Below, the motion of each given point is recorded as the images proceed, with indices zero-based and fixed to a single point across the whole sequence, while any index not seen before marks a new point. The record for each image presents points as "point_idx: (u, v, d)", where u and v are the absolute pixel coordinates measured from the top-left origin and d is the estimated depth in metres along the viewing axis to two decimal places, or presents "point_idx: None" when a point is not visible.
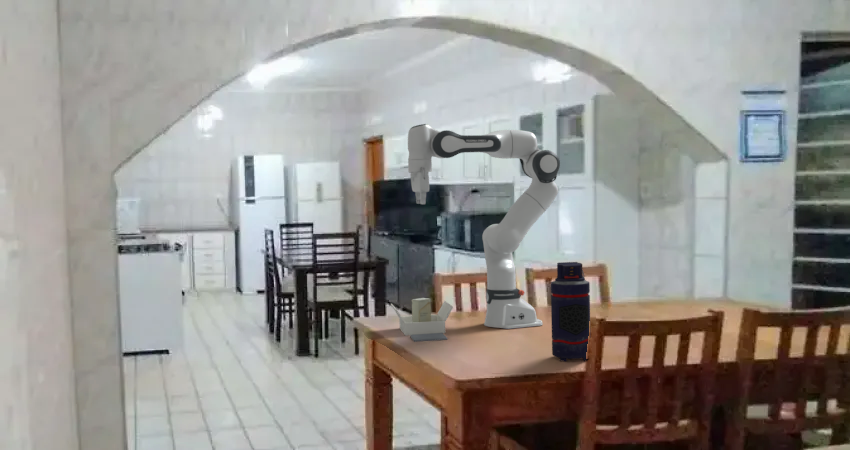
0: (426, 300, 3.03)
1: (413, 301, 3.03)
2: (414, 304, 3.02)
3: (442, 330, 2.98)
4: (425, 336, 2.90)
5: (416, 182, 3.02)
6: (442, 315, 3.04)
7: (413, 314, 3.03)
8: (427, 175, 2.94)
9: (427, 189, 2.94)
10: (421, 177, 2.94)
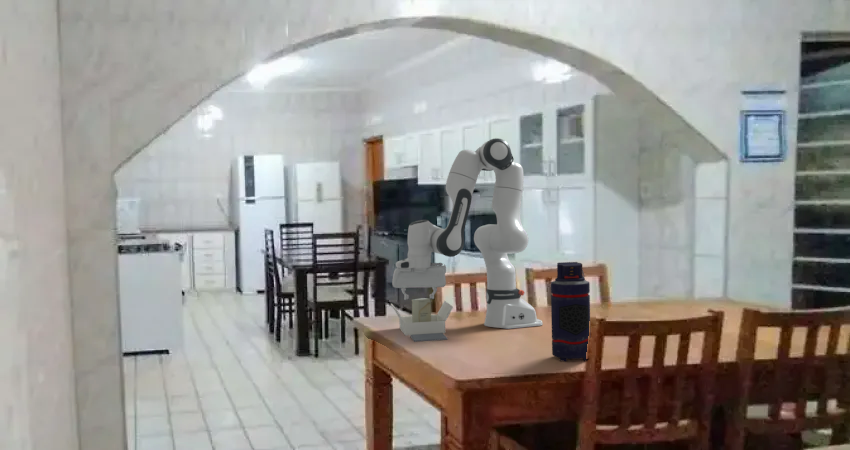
0: (426, 300, 3.03)
1: (413, 301, 3.03)
2: (414, 304, 3.02)
3: (442, 330, 2.98)
4: (425, 336, 2.90)
5: (424, 278, 3.02)
6: (442, 315, 3.04)
7: (413, 314, 3.03)
8: None
9: None
10: (444, 272, 3.03)
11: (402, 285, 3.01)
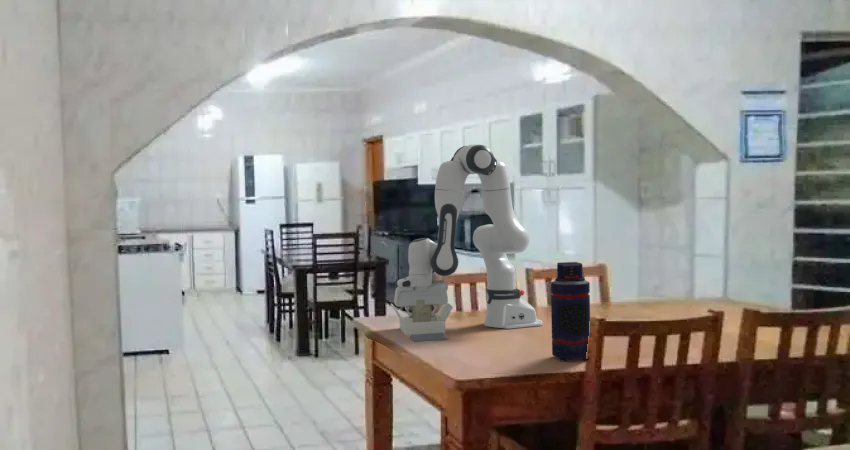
0: None
1: None
2: None
3: (442, 330, 2.98)
4: (425, 336, 2.90)
5: (426, 296, 3.02)
6: (442, 315, 3.04)
7: (413, 314, 3.03)
8: None
9: None
10: (446, 289, 3.04)
11: (404, 304, 3.01)
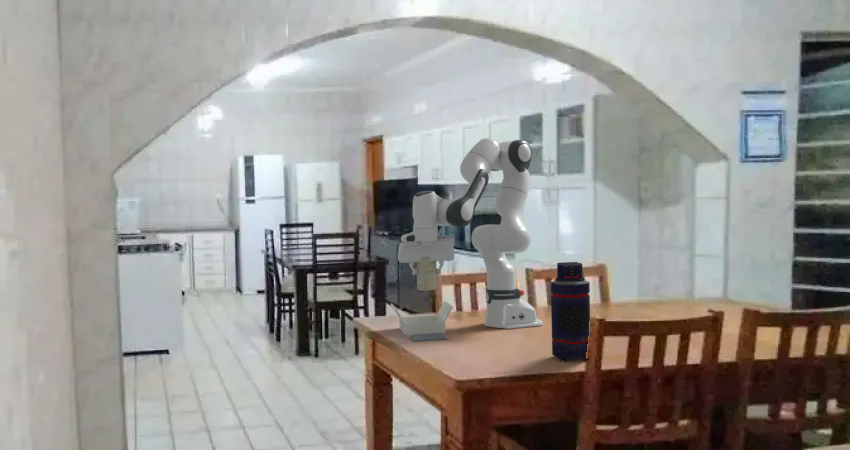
0: None
1: None
2: None
3: (442, 330, 2.98)
4: (425, 336, 2.90)
5: (431, 251, 2.87)
6: (442, 315, 3.04)
7: (418, 272, 2.87)
8: None
9: None
10: (452, 245, 2.88)
11: (408, 260, 2.85)
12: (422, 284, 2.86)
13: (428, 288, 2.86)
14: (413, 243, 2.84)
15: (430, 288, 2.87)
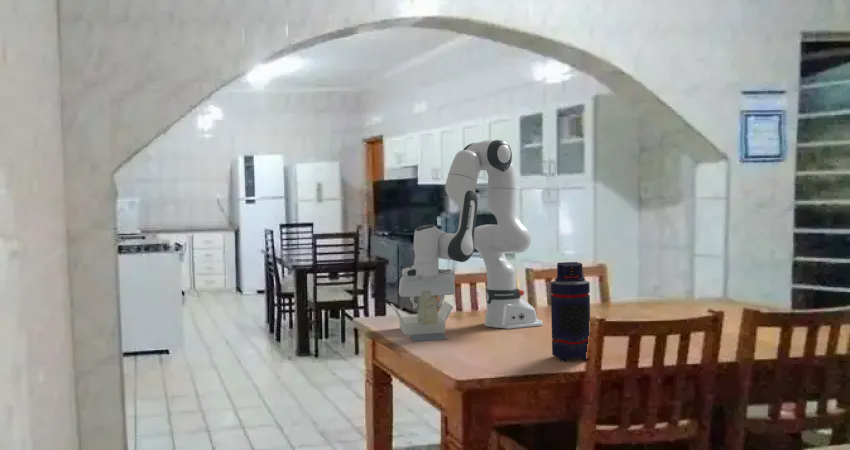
0: None
1: None
2: (419, 296, 2.87)
3: (442, 330, 2.98)
4: (425, 336, 2.90)
5: (432, 285, 2.87)
6: (442, 315, 3.04)
7: (418, 306, 2.88)
8: None
9: None
10: (453, 279, 2.89)
11: (409, 294, 2.86)
12: (422, 319, 2.86)
13: (429, 322, 2.87)
14: (414, 277, 2.85)
15: (431, 322, 2.87)
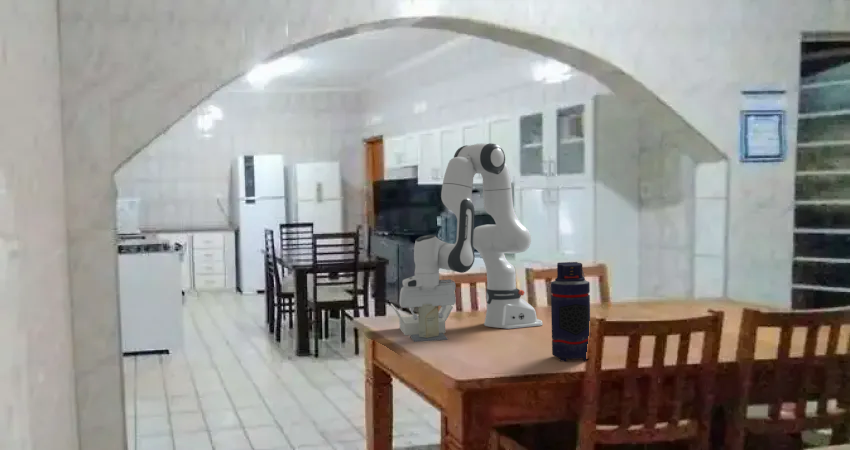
0: None
1: None
2: (421, 308, 2.88)
3: (442, 330, 2.98)
4: None
5: (432, 296, 2.87)
6: None
7: (420, 319, 2.88)
8: None
9: None
10: (453, 289, 2.89)
11: (410, 304, 2.86)
12: (423, 331, 2.87)
13: (430, 335, 2.87)
14: (414, 288, 2.85)
15: (432, 335, 2.88)
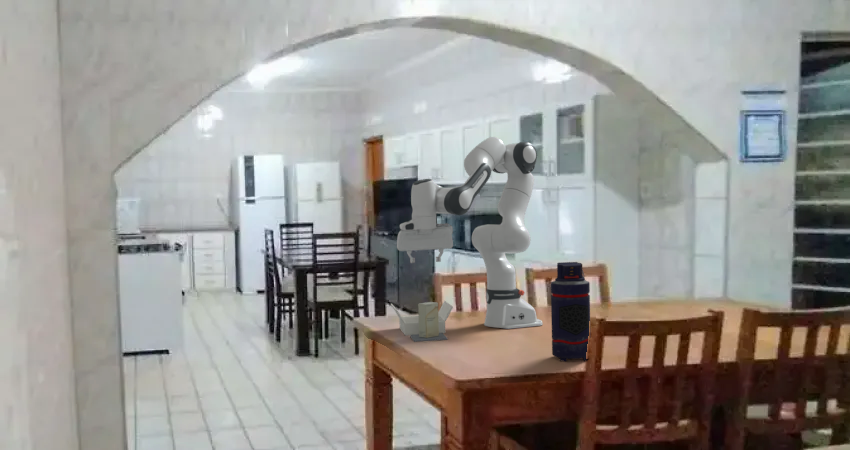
0: (433, 304, 2.88)
1: (420, 305, 2.88)
2: (421, 308, 2.88)
3: (442, 330, 2.98)
4: None
5: (430, 239, 2.88)
6: (442, 315, 3.04)
7: (420, 319, 2.88)
8: None
9: None
10: (451, 233, 2.90)
11: (407, 248, 2.87)
12: (423, 331, 2.87)
13: (430, 335, 2.87)
14: (412, 231, 2.86)
15: (432, 335, 2.88)
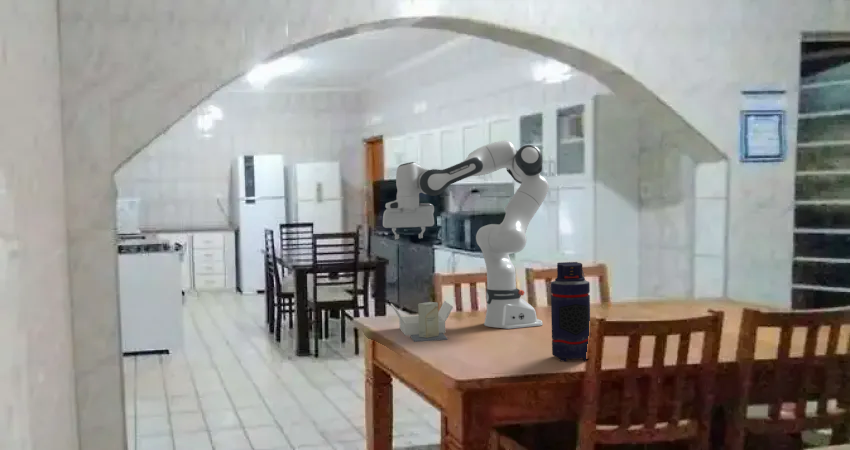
0: (433, 304, 2.88)
1: (420, 305, 2.88)
2: (421, 308, 2.88)
3: (442, 330, 2.98)
4: None
5: (413, 217, 3.14)
6: (442, 315, 3.04)
7: (420, 319, 2.88)
8: None
9: None
10: (432, 212, 3.16)
11: (392, 225, 3.13)
12: (423, 331, 2.87)
13: (430, 335, 2.87)
14: (396, 210, 3.12)
15: (432, 335, 2.88)
